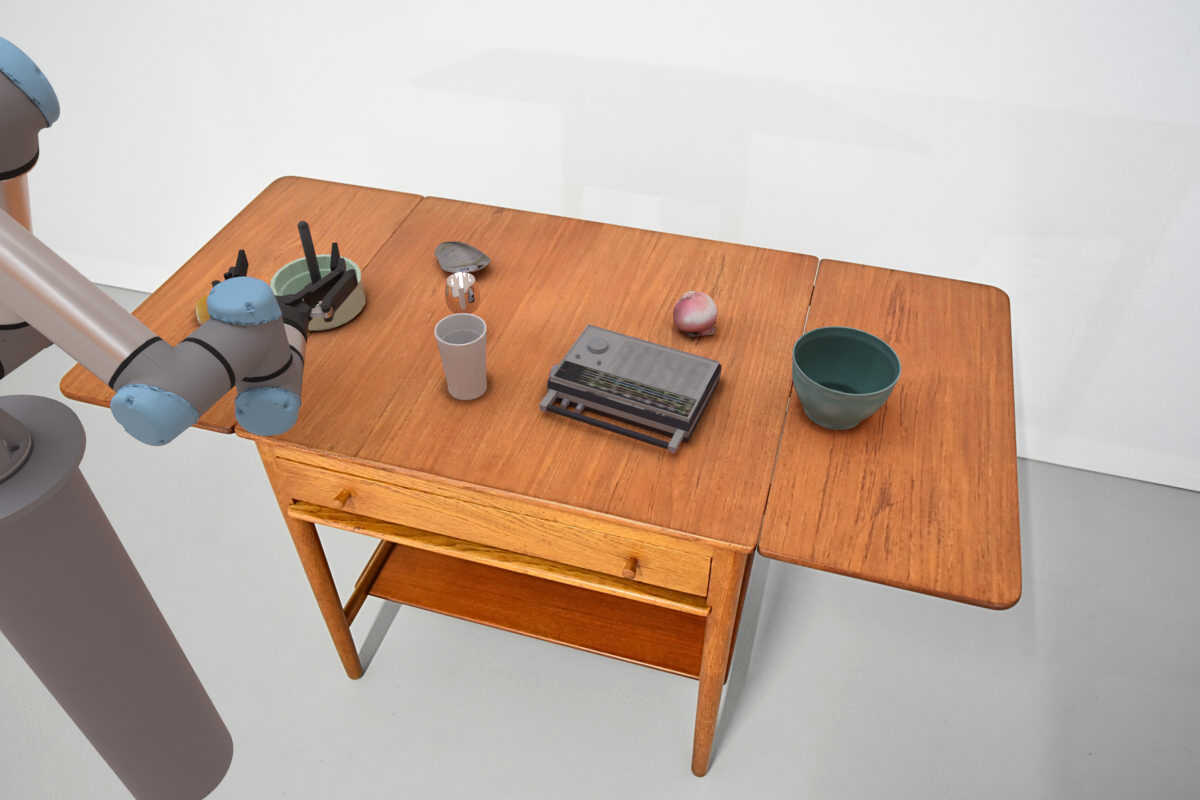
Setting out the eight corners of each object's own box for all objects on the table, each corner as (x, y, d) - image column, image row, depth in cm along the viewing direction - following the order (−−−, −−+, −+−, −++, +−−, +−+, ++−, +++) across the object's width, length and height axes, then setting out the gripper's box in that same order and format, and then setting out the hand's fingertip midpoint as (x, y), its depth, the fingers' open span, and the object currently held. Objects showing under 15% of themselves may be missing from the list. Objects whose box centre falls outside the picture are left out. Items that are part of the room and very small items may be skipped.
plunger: (317, 316, 158) (296, 234, 146) (300, 302, 161) (278, 221, 149) (344, 303, 161) (325, 221, 149) (327, 289, 164) (307, 209, 152)
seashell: (421, 271, 169) (418, 248, 166) (447, 249, 175) (444, 227, 171) (473, 289, 165) (471, 266, 162) (498, 267, 171) (496, 244, 167)
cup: (435, 380, 147) (426, 322, 139) (480, 365, 150) (473, 307, 142) (454, 409, 142) (446, 351, 134) (500, 393, 145) (495, 335, 137)
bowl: (308, 345, 153) (300, 317, 149) (262, 306, 161) (253, 278, 157) (383, 307, 161) (378, 279, 157) (335, 271, 169) (329, 244, 165)
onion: (693, 309, 162) (696, 276, 157) (726, 329, 158) (730, 296, 153) (663, 328, 157) (665, 295, 153) (696, 349, 153) (699, 315, 149)
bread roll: (254, 321, 158) (248, 302, 155) (201, 334, 155) (194, 315, 152) (247, 295, 163) (241, 277, 161) (195, 307, 160) (188, 289, 158)
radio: (723, 355, 144) (680, 436, 131) (720, 380, 148) (678, 461, 134) (585, 316, 151) (531, 389, 138) (585, 341, 155) (532, 414, 141)
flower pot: (841, 365, 151) (854, 314, 143) (907, 426, 140) (924, 374, 133) (762, 395, 145) (771, 343, 138) (823, 460, 135) (837, 408, 127)
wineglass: (475, 350, 152) (469, 293, 144) (444, 343, 154) (437, 286, 146) (489, 330, 157) (484, 274, 148) (459, 324, 158) (452, 267, 150)
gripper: (189, 371, 122) (211, 280, 137) (376, 354, 125) (377, 267, 140) (172, 328, 117) (197, 238, 132) (367, 311, 120) (370, 226, 135)
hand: (290, 253), depth 136 cm, fingers open, 13 cm apart
